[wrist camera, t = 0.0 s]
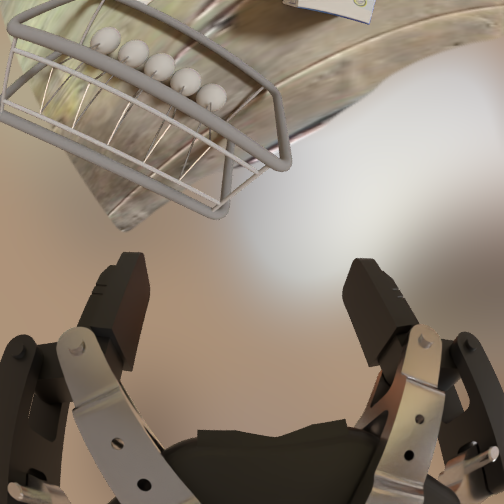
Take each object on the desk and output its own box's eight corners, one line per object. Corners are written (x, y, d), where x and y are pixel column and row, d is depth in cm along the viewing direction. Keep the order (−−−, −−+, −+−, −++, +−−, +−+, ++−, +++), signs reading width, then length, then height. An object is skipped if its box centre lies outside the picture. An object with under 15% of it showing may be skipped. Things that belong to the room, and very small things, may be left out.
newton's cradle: (66, 46, 22) (-17, 116, 13) (98, -16, 15) (-2, 22, 6) (232, 133, 39) (224, 228, 30) (281, 90, 32) (297, 176, 23)
